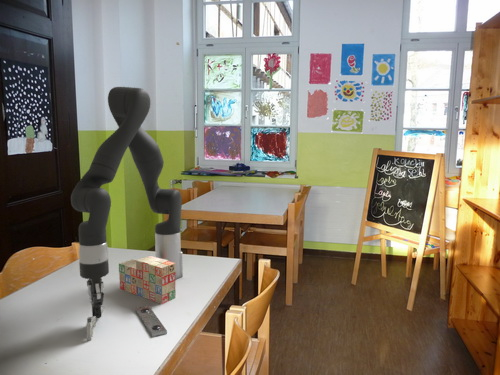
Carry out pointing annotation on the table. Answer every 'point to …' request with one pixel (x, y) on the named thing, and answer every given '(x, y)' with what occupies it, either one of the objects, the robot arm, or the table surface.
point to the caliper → (91, 325)
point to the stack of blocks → (149, 278)
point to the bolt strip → (151, 321)
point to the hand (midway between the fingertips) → (96, 317)
